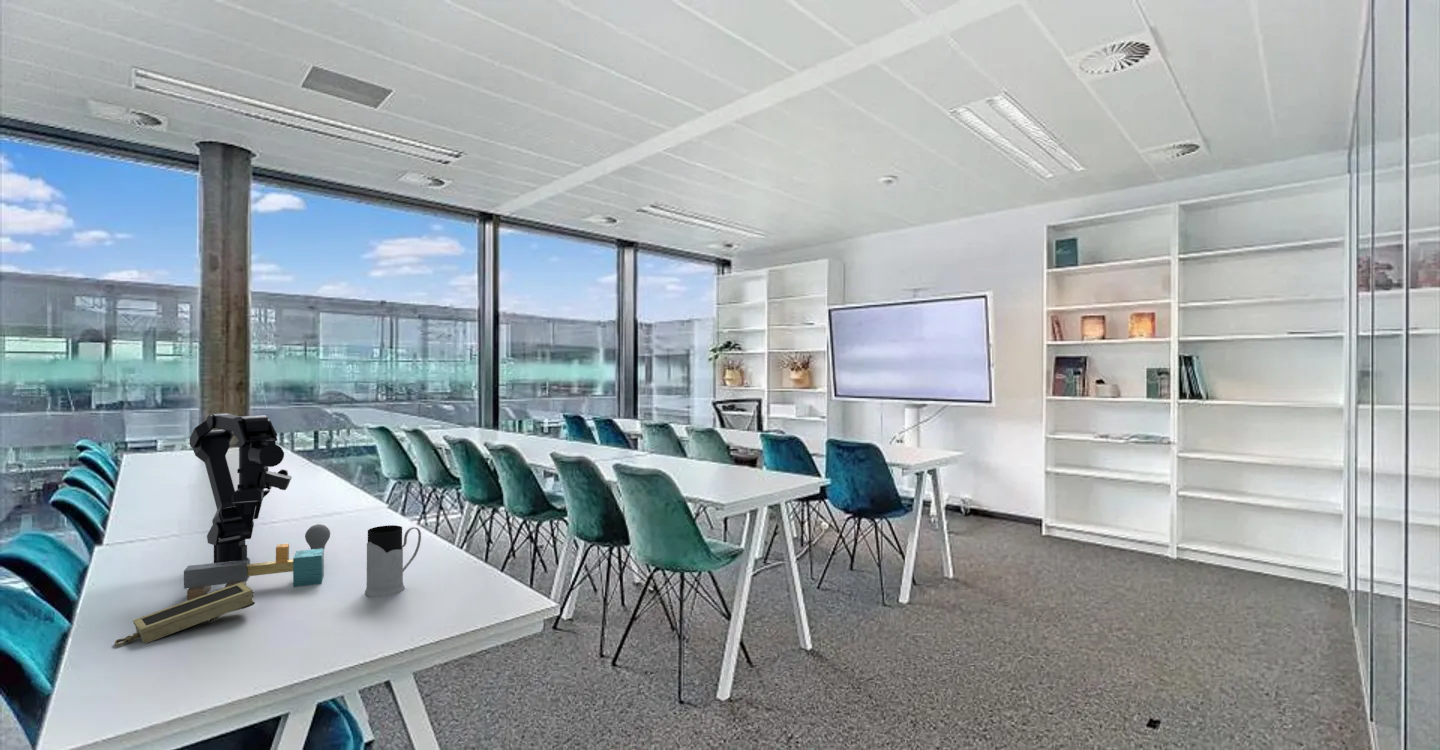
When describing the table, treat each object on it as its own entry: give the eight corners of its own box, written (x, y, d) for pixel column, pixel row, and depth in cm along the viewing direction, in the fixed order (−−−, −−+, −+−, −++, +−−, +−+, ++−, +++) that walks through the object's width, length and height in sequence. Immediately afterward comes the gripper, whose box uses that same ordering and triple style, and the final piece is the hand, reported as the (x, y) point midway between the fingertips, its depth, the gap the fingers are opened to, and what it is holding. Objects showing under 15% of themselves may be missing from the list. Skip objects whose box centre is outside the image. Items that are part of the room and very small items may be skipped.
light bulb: (310, 564, 177) (310, 528, 177) (301, 560, 181) (301, 524, 181) (333, 559, 182) (334, 524, 182) (324, 555, 186) (324, 520, 186)
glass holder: (356, 592, 156) (356, 530, 156) (408, 576, 169) (409, 518, 169) (379, 599, 152) (379, 535, 152) (431, 581, 165) (431, 522, 165)
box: (259, 610, 141) (254, 588, 141) (122, 663, 124) (115, 638, 123) (246, 601, 146) (242, 580, 146) (113, 651, 129) (107, 628, 128)
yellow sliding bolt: (213, 580, 154) (213, 553, 154) (216, 577, 157) (216, 550, 156) (307, 569, 163) (308, 544, 163) (309, 566, 165) (309, 541, 165)
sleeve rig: (181, 601, 149) (181, 571, 149) (190, 590, 156) (190, 561, 156) (321, 584, 162) (321, 555, 162) (323, 574, 169) (323, 547, 169)
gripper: (284, 466, 166) (284, 527, 166) (293, 457, 183) (293, 512, 183) (230, 469, 161) (230, 532, 161) (244, 459, 177) (244, 516, 178)
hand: (252, 522), depth 171 cm, fingers open, 9 cm apart
